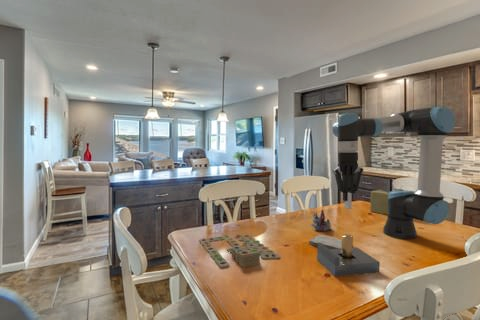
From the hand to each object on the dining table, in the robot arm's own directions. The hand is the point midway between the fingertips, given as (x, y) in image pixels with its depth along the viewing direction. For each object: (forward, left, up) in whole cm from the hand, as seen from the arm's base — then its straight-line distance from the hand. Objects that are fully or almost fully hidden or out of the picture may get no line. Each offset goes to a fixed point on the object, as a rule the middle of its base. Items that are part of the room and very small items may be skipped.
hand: (347, 208), depth 110 cm
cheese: (-66, -56, -22) cm, 89 cm away
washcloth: (0, -14, -22) cm, 26 cm away
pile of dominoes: (+44, -17, -22) cm, 52 cm away
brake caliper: (-7, -37, -22) cm, 43 cm away
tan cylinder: (+4, +7, -21) cm, 23 cm away
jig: (+4, +7, -21) cm, 23 cm away
